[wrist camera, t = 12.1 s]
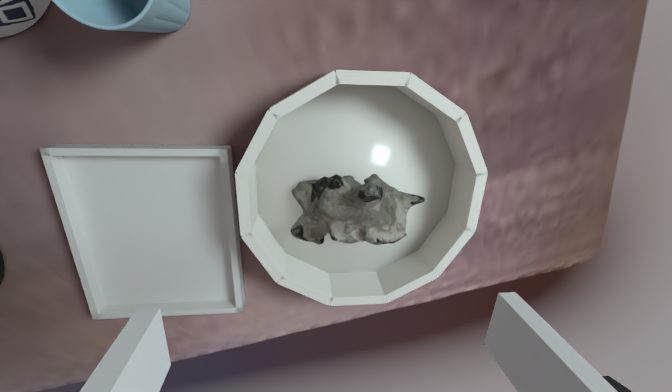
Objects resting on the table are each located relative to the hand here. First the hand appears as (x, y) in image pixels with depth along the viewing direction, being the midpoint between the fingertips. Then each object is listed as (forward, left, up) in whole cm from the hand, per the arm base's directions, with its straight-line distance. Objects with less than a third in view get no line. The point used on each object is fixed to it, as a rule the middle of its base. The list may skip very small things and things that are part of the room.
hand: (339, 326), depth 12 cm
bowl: (+5, -3, -27) cm, 27 cm away
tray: (-19, -9, -27) cm, 34 cm away
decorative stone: (+4, -4, -26) cm, 27 cm away
